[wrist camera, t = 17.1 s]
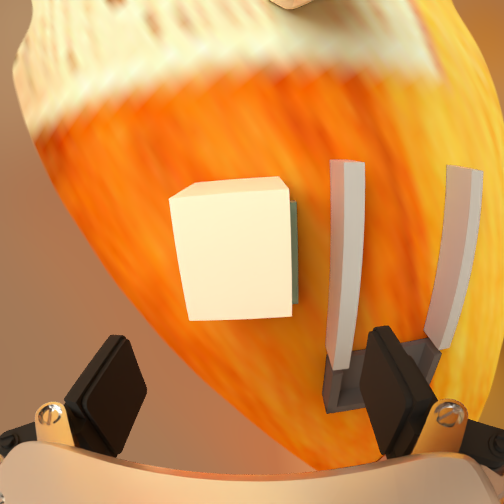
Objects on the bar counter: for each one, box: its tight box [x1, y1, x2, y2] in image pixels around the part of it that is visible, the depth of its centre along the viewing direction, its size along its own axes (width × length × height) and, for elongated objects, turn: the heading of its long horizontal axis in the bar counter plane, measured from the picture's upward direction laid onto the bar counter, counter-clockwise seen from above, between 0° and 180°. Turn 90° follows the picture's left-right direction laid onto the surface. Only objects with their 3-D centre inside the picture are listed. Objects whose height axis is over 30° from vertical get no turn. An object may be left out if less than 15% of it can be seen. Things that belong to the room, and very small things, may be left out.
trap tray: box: [322, 338, 442, 414], centre depth 21 cm, size 5×10×2 cm, turn 94°
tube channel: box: [325, 160, 483, 370], centre depth 18 cm, size 14×10×3 cm
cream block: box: [169, 177, 292, 321], centre depth 15 cm, size 6×5×6 cm
